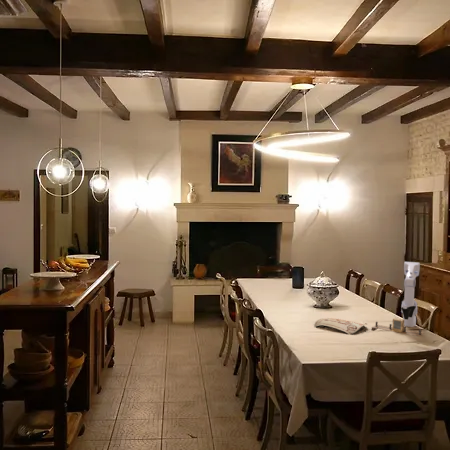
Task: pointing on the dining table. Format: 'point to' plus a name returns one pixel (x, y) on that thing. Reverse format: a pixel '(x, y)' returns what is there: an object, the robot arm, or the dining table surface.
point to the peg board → (397, 331)
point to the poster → (340, 324)
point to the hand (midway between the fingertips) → (408, 318)
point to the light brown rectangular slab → (398, 324)
